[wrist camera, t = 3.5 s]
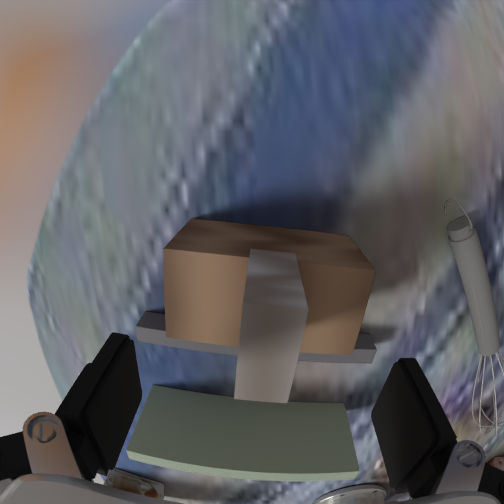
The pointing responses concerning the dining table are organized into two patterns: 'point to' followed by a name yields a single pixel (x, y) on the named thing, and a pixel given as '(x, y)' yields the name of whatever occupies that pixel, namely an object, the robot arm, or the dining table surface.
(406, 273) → the dining table surface
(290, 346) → the walnut mallet
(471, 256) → the kitchen whisk
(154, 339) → the cleat board
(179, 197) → the dining table surface
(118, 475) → the coffee box
